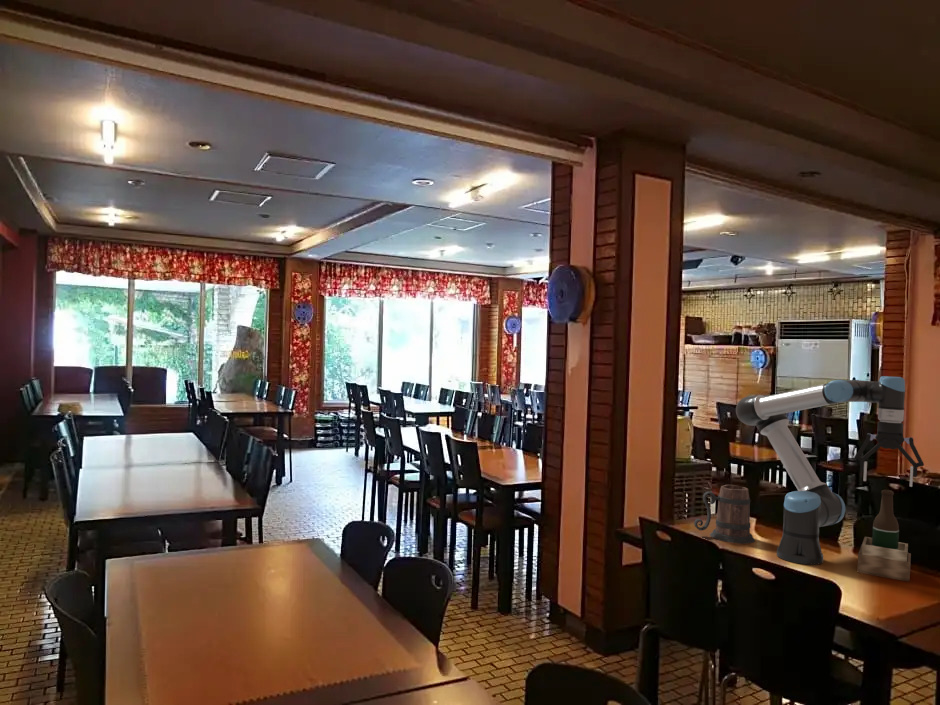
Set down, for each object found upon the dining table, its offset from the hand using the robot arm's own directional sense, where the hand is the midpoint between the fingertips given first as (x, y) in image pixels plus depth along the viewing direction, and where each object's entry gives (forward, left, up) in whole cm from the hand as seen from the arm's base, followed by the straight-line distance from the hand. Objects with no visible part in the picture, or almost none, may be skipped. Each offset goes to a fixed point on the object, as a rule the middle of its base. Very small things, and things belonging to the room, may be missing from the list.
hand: (887, 483), depth 239 cm
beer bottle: (0, 0, -27) cm, 27 cm away
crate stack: (0, 0, -30) cm, 30 cm away
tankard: (-48, -28, -30) cm, 63 cm away
